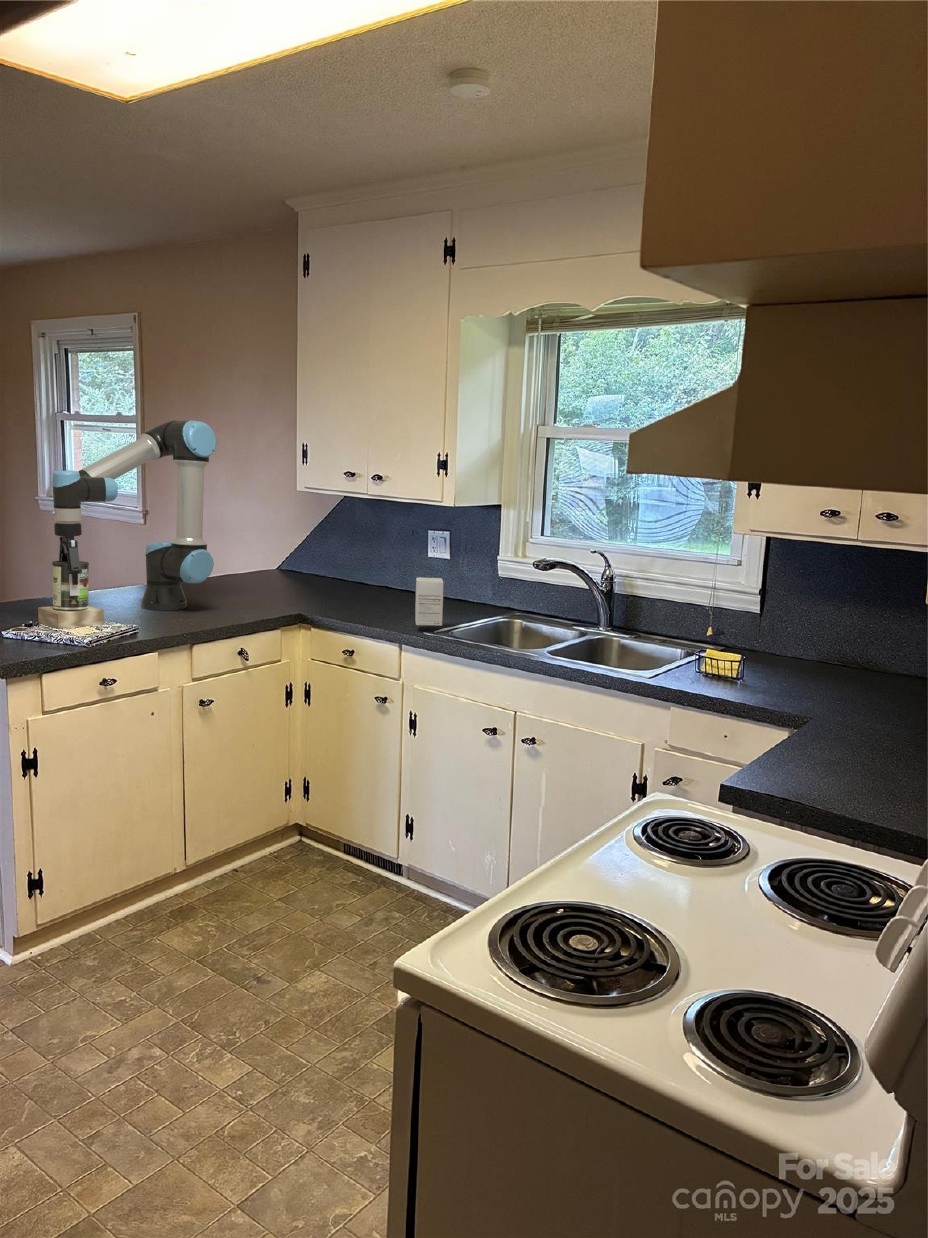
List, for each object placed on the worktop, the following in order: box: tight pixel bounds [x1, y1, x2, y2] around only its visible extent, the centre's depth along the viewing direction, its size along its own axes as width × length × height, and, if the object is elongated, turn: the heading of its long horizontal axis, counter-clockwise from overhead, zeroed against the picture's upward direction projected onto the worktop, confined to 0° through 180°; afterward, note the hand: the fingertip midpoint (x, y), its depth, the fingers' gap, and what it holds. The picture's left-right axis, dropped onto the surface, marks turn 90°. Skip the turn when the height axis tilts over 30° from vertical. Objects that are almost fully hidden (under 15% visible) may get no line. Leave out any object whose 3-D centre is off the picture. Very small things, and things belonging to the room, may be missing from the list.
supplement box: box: [414, 576, 444, 626], centre depth 314 cm, size 9×9×15 cm
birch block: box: [37, 604, 105, 629], centre depth 286 cm, size 14×14×6 cm
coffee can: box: [51, 560, 90, 610], centre depth 285 cm, size 10×10×14 cm
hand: (70, 592), depth 285 cm, fingers open, 13 cm apart
